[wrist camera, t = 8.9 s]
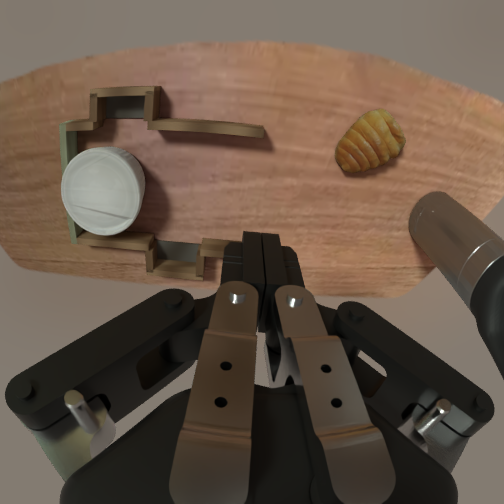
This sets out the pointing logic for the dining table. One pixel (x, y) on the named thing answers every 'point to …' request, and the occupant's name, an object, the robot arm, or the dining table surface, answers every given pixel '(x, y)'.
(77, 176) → the ramekin
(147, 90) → the box
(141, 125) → the dining table surface
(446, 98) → the dining table surface
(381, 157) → the pastry
